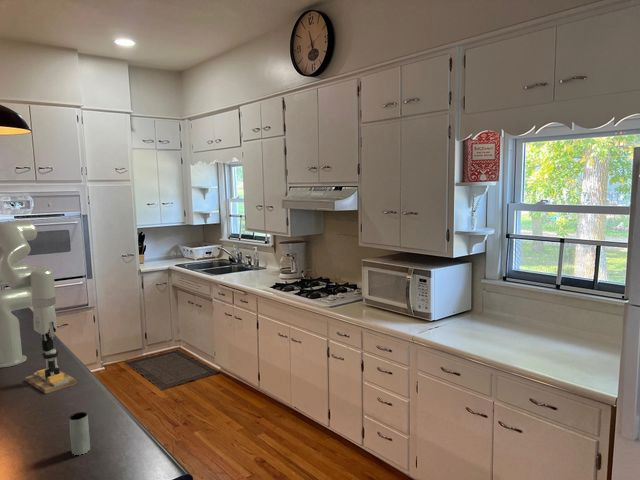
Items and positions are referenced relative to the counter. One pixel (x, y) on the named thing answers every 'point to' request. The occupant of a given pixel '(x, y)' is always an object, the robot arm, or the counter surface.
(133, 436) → the counter surface
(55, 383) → the din rail
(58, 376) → the end stops
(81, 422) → the planter
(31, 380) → the din panel
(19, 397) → the counter surface
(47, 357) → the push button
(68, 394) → the counter surface
